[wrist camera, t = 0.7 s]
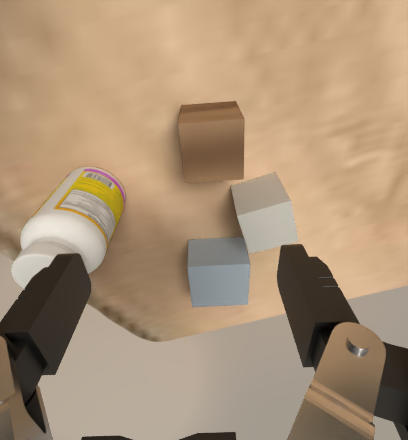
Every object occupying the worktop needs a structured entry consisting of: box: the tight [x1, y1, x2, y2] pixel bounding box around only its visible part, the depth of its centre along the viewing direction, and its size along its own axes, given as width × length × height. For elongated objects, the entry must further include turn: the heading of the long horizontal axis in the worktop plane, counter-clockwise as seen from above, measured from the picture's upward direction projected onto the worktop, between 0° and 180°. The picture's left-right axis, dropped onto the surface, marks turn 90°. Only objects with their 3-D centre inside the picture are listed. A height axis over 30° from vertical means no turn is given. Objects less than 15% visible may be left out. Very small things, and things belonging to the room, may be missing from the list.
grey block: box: [231, 172, 298, 254], centre depth 29 cm, size 5×5×6 cm
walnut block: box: [178, 101, 244, 183], centre depth 25 cm, size 5×5×6 cm
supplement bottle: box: [11, 167, 126, 289], centre depth 25 cm, size 7×7×13 cm
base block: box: [187, 237, 250, 307], centre depth 35 cm, size 7×7×5 cm
